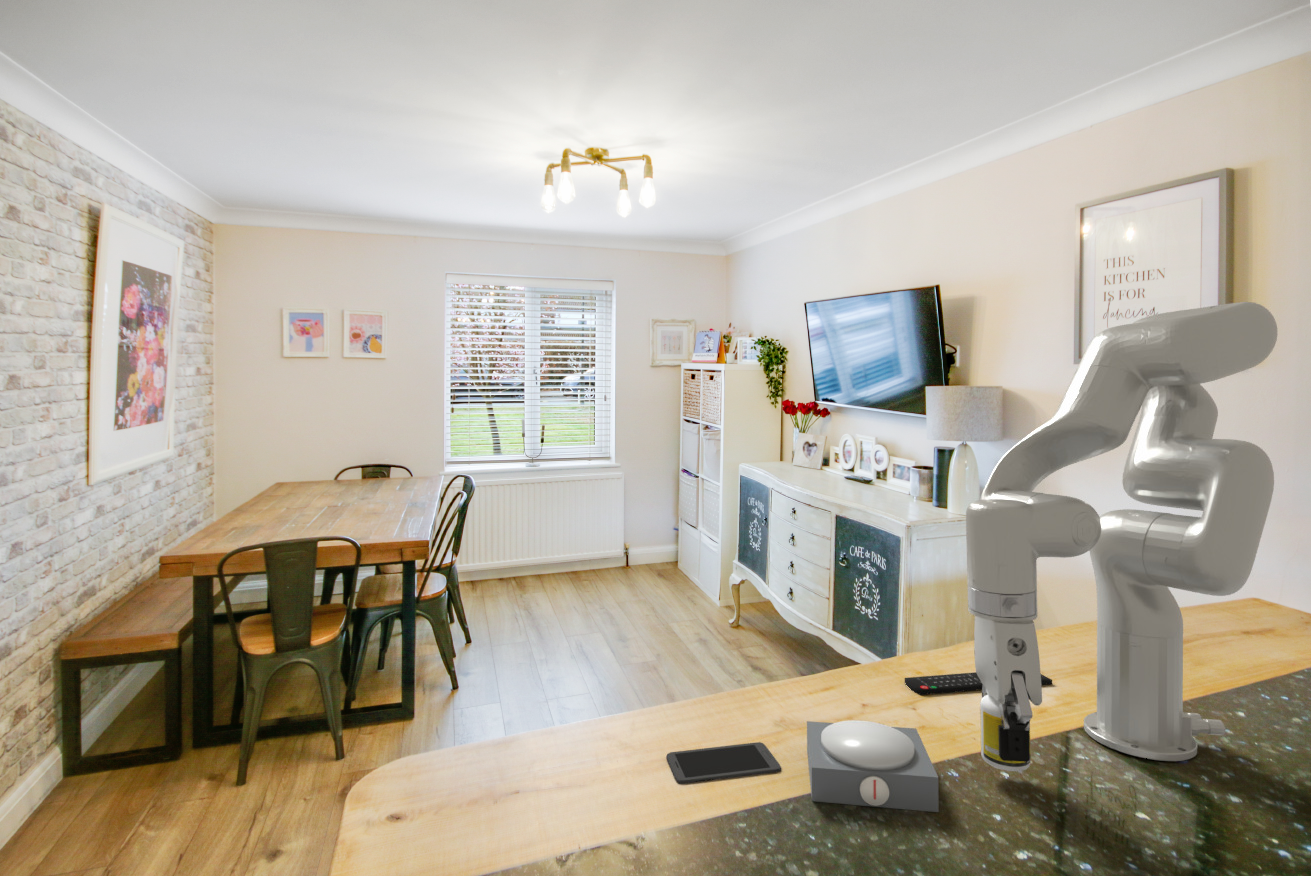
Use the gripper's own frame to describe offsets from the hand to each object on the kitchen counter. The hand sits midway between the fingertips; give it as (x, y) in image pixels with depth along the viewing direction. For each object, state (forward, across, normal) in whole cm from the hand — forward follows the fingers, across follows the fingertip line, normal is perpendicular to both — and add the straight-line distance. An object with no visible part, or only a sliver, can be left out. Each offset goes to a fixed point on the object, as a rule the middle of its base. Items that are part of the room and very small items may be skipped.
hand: (1005, 744), depth 81 cm
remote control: (+6, +31, -5) cm, 32 cm away
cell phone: (+4, -2, +35) cm, 35 cm away
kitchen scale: (+4, -2, +17) cm, 17 cm away
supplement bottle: (+2, 0, 0) cm, 2 cm away
